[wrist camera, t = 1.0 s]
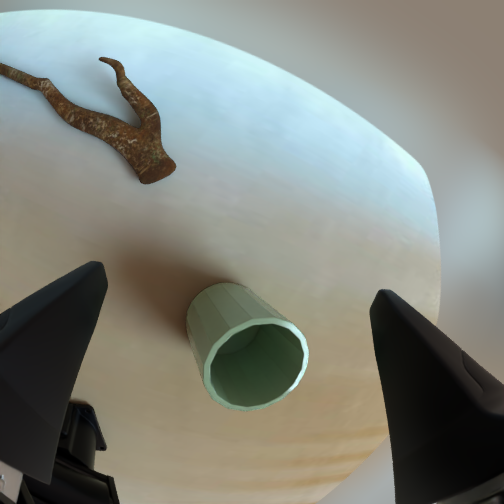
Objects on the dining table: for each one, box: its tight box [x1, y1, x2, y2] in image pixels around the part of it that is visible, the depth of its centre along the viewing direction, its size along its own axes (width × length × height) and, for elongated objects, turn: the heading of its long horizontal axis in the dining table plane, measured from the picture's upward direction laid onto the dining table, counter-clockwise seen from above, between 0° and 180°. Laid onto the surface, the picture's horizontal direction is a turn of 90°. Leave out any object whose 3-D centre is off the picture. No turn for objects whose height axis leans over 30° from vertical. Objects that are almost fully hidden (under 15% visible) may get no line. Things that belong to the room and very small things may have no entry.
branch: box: [0, 57, 176, 184], centre depth 13 cm, size 25×6×3 cm, turn 57°
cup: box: [186, 283, 309, 411], centre depth 19 cm, size 7×7×8 cm
